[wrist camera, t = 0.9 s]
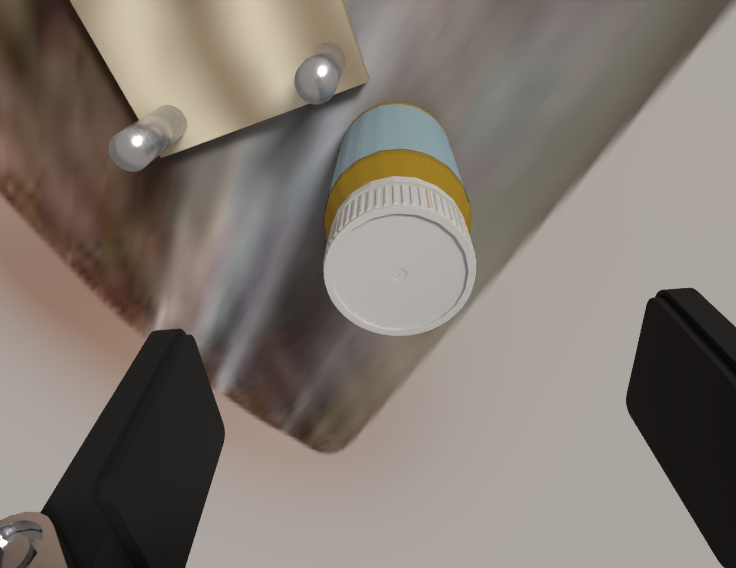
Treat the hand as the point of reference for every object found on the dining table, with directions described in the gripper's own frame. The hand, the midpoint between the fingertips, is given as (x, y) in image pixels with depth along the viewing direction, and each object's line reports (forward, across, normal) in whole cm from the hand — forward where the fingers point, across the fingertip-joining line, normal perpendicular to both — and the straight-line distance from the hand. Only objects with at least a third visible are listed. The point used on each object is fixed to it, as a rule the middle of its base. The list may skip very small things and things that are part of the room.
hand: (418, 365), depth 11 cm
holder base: (+24, +9, -7) cm, 27 cm away
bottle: (+24, 0, +3) cm, 25 cm away
